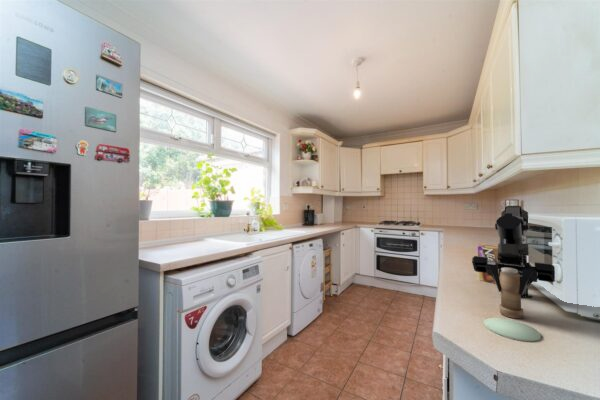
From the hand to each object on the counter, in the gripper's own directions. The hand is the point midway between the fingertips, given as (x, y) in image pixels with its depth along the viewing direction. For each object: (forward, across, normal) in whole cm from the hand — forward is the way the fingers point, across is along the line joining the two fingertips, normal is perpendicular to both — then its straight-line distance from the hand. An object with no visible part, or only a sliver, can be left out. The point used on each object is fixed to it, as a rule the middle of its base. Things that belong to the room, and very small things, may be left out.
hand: (510, 292), depth 69 cm
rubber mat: (+11, 0, -2) cm, 12 cm away
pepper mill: (+4, 0, +6) cm, 7 cm away
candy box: (-20, -7, +30) cm, 37 cm away
